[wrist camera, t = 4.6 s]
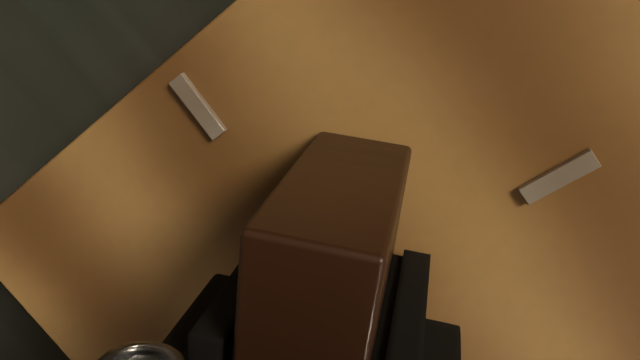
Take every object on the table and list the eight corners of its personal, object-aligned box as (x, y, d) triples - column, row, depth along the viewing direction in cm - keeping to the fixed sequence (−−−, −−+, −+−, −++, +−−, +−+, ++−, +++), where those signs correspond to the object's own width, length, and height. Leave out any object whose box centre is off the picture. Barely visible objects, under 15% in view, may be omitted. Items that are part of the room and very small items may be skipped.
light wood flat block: (495, -187, 11) (511, -242, 8) (778, 281, 13) (870, 370, 10) (41, 193, 17) (-46, 240, 14) (284, 479, 19) (254, 574, 16)
